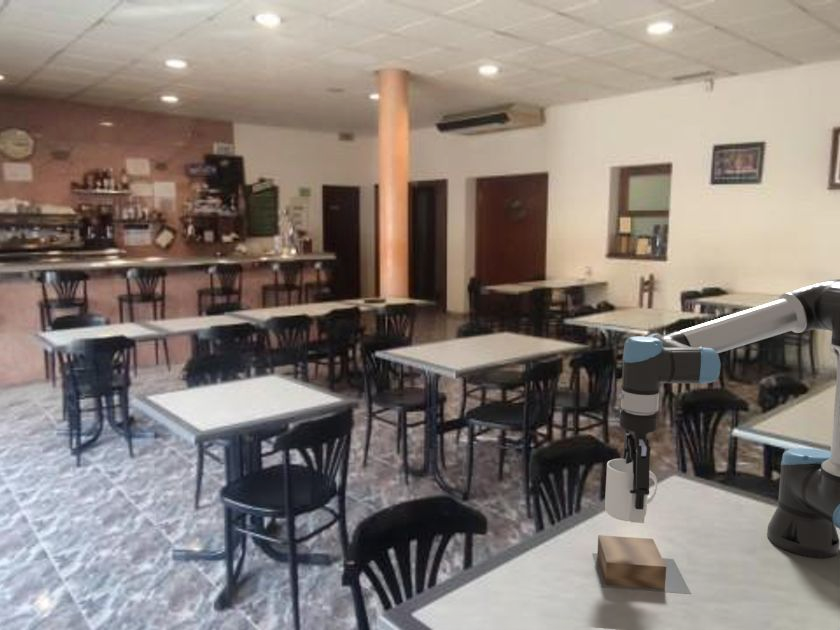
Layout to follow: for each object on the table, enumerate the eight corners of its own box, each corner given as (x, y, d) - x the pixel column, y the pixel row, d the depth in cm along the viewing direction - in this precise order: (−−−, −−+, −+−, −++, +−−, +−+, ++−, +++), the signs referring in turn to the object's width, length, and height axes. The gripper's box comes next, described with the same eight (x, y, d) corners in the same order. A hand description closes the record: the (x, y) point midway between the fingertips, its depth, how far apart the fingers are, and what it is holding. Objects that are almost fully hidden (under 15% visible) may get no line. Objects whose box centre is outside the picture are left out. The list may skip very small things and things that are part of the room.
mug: (668, 517, 136) (671, 469, 135) (619, 524, 133) (622, 475, 131) (643, 500, 144) (646, 455, 143) (596, 506, 141) (599, 460, 140)
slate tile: (673, 563, 146) (673, 558, 145) (690, 599, 132) (691, 593, 132) (591, 558, 148) (592, 553, 148) (601, 592, 134) (601, 586, 134)
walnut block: (651, 559, 145) (652, 538, 144) (664, 589, 133) (666, 566, 133) (597, 555, 147) (598, 535, 146) (605, 584, 135) (606, 562, 134)
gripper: (612, 396, 146) (606, 490, 149) (630, 424, 125) (623, 534, 128) (646, 397, 145) (640, 492, 148) (670, 426, 124) (662, 536, 127)
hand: (632, 511), depth 138 cm, fingers closed on mug, 9 cm apart
